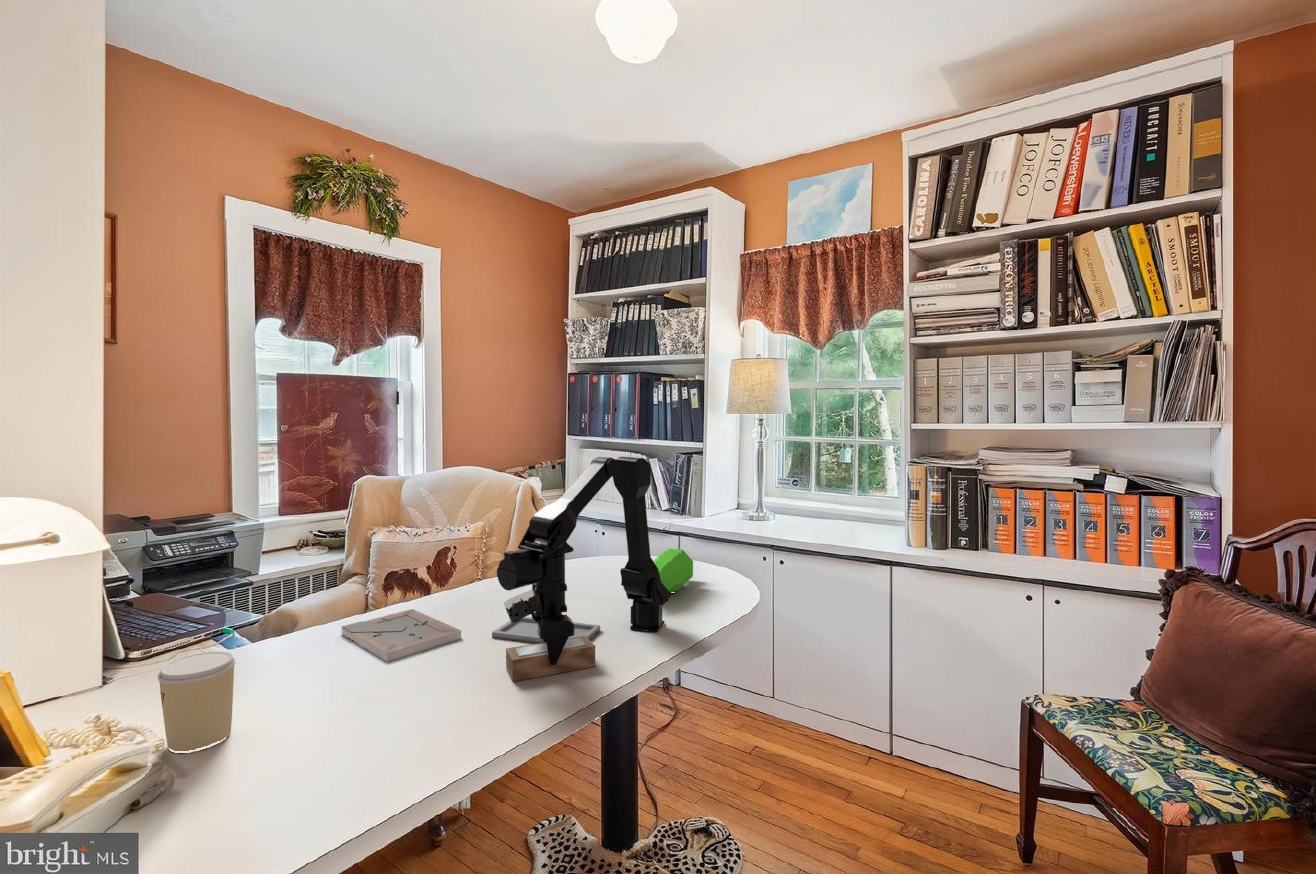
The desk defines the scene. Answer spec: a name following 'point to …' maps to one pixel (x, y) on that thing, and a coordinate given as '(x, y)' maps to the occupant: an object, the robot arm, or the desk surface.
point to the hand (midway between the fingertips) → (550, 657)
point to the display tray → (529, 627)
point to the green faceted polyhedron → (674, 568)
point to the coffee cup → (197, 699)
